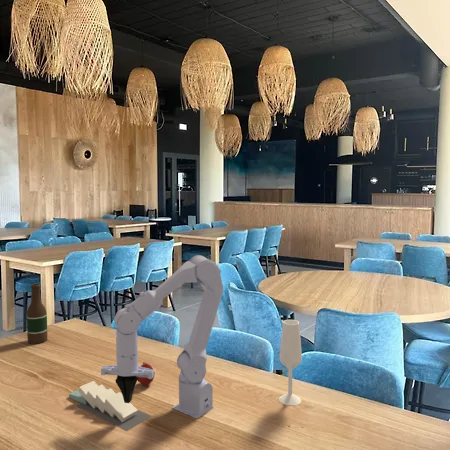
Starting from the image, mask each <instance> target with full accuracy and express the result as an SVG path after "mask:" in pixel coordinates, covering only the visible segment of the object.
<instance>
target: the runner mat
mask: <svg viewBox="0 0 450 450" xmlns="http://www.w3.org/2000/svg"><path fill="white" fill-rule="evenodd" d="M75 407H77V408H79V409H81V410H83V411H85V412H87V413H89V414H91V415H93V416H95V417H98V418H100V419H102V420H104V421H106V422H108V423H109V424H112V425H114V426H116V427H118V428H120V429H122V430H124V431H126V432H128V431H130V430H131V429H133V428H135V427H136V426H138V425H140V424H142V423H143V422H145V421H146V420H148V419H150V418H152V415H150V414H148V413H146V412H143V411H141V410H139V409H137V410H138V411H137V414H136V415H135V416H133V417H131V418H129V419H127V420H126V421H124V422H121V421H120V419H119V418H118V417H117V416H115V417H113V418H112V417H111V416H110V415H109V413H108V412H105V413H102V412H101V410H100V409H99V408H98V407H97V408H95V409H94V408H93V407H92V406H91V405H90V404H89V403H88V404H83V403H79V404H76V406H75Z"/></svg>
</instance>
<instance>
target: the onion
mask: <svg viewBox="0 0 450 450" xmlns="http://www.w3.org/2000/svg"><path fill="white" fill-rule="evenodd" d="M140 366H141V367H144V368H148V369H154V368H153V367H152V366H151V365H150V364H149V363H147V362H146V361H143V362H142V364H141V365H140ZM155 373H156V372H155V371H154V377H153V378H152V379H148V378H146V377H139V378H138V380H137V382H138V383H139V384H141V385H142V386H144V387H146V386H149V385H150V384H151V383H152V382H153V381H154V379H155V375H156V374H155Z"/></svg>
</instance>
